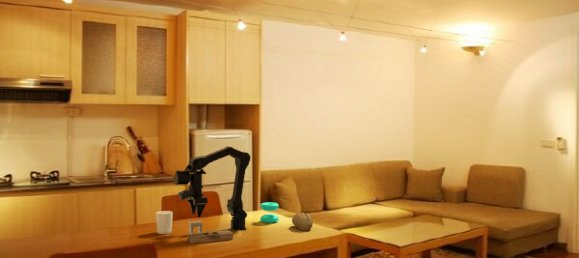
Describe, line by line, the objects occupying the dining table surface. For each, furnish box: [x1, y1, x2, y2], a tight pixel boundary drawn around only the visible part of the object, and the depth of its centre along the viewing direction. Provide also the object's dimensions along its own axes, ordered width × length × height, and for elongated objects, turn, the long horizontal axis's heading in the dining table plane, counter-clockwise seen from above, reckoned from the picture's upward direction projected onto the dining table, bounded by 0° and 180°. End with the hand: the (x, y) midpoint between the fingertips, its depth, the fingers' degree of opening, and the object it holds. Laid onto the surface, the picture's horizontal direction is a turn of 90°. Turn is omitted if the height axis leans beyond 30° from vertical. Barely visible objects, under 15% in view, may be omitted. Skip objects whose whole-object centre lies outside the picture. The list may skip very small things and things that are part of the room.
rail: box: [187, 230, 234, 245], centre depth 236 cm, size 6×20×3 cm, turn 117°
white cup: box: [155, 210, 174, 235], centre depth 251 cm, size 8×8×10 cm
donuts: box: [260, 201, 280, 224], centre depth 278 cm, size 10×10×10 cm
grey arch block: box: [188, 220, 204, 234], centre depth 248 cm, size 2×6×6 cm, turn 117°
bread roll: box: [291, 212, 314, 232], centre depth 263 cm, size 10×15×8 cm, turn 23°
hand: (196, 215), depth 247 cm, fingers open, 9 cm apart
